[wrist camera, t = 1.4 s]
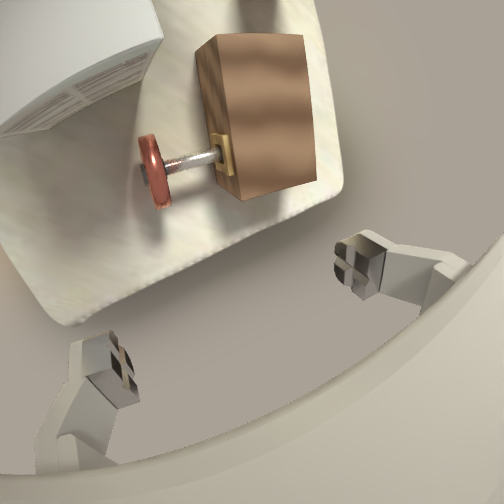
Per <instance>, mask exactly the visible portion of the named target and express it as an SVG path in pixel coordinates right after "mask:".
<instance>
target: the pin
mask: <svg viewBox="0 0 504 504" xmlns="http://www.w3.org/2000/svg"><path fill="white" fill-rule="evenodd" d="M137 140H138V146H139V151H140V155H141V160H142V164H140V168H141V172H142V176H143V179H144V183H145V186H148V187H149V190H150V193H151V197H152V200H153V203H154V206H155V209H156V211H157V210H160V209H163V208H166V207H169V206H171V196H170V191H169V186H168V182H167V175H171V174H174V173H177V172H181V171H184V170H188V169H191V168H195V167H199V166H202V165H206V164H210V163H214V162H218V161H222V160H223V154H222V148H221V146H219V147H215V148H211V149H207V150H203V151H199V152H195V153H191V154H187V155H183V156H180V157H176V158H173V159H169V160H166V161H163V159H162V158H161V154H160V151H159V148H158V145H157V142H156V139H155V136H154V135H153V134H149V135H146V136H142V137H139V138H137Z"/></svg>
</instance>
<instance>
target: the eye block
mask: <svg viewBox="0 0 504 504" xmlns="http://www.w3.org/2000/svg"><path fill="white" fill-rule="evenodd" d="M195 54H196V61H197V67H198V74H199V80H200V86H201V93H202V99H203V105H204V111H205V117H206V123H207V129H208V134H209V140H210V146H211V148H215V147H219V146H221V148H222V154H223V160H222V161H218V162H214V168H215V174H216V179H217V184H218V185H219V186H221V187H222V188H224V189H225V190H226V191H228V192H229V193H231V194H232V195H234V196H235V197H236V198H238V199H239V200H241V201H244V200H248V199H251V198H254V197H258V196H261V195H265V194H268V193H272V192H275V191H279V190H283V189H286V188H290V187H294V186H297V185H301V184H305V183H309V182H313V181H317V175H316V156H315V141H314V128H313V116H312V105H311V95H310V85H309V77H308V69H307V61H306V53H305V46H304V39H303V35H295V34H278V33H235V34H217V35H215V36H214V37H212V38H211V39H210V40H209V41H207V42H206V43H205V44H204V45H203V46H201V47H200V48H199V49H198V50H197V51H195Z"/></svg>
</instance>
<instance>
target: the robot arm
mask: <svg viewBox="0 0 504 504" xmlns="http://www.w3.org/2000/svg"><path fill="white" fill-rule="evenodd" d="M334 253H335V254H336V255H337V258H336V260H335V262H334V272H335V275H336V277H337V279H338V280H339V281H340V282H341V283H342V284H343V285H346V286H350V287H351V289H352V292H353V293H355V294H356V295H357V296H358V297H360V298H361V299H362V300H366V299H367V298H369V297H371V296H373V295H375V294H376V293H378V292H380V293H382V294H385V295H388V296H391V297H394V298H397V299H400V300H403V301H407V302H410V303H413V304H416V305H419V306H422V307H421V310H420V313H419V317H418V318H416V319H415V320H414V321H413V322H411V324H409V325H408V326H407V327H405V328H404V329H403V330H402V331H400V332H399V333H398V334H396V335H395V336H394V337H392V338H391V339H390V340H388V341H387V342H386V343H384V344H383V345H382V346H380V347H379V348H377V349H376V350H375V351H373V352H372V353H370V354H369V355H368V356H366V357H365V358H363V359H362V360H360V361H359V362H358V363H356V364H354V365H353V366H351V367H350V368H348V369H347V370H345V371H344V372H342V373H340V374H339V375H337V376H336V377H334V378H332V379H331V380H329V381H327V382H326V383H324V384H322V385H321V386H319V387H318V388H316V389H314V390H312V391H310V392H309V393H307V394H305V395H303V396H301V397H300V398H298V399H296V400H294V401H292V402H290V403H288V404H286V405H284V406H282V407H280V408H278V409H277V410H274V411H272V412H270V413H268V414H266V415H264V416H262V417H260V418H258V419H256V420H253V421H251V422H249V423H247V424H244V425H242V426H240V427H238V428H235V429H233V430H230V431H228V432H225V433H223V434H220V435H218V436H215V437H212V438H210V439H207V440H204V441H202V442H199V443H196V444H193V445H190V446H187V447H184V448H181V449H178V450H174V451H171V452H168V453H164V454H161V455H157V456H154V457H150V458H146V459H142V460H138V461H134V462H129V463H125V464H120V465H119V464H118V463H115V462H114V461H112V460H110V459H109V458H107V457H105V454H106V451H107V447H108V443H109V440H110V436H111V433H112V429H113V426H114V423H115V419H116V416H117V413H118V410H117V409H120V408H122V407H126V406H129V405H132V404H135V403H138V402H140V398H139V393H138V389H137V385H136V384H135V382H134V381H133V380H132V379H133V377H134V375H135V374H134V369H133V366H132V363H131V360H130V358H129V356H128V354H127V352H126V351H125V350H124V348H122V347H121V346H118V338H117V337H116V335H115V334H114V332H113V331H111V330H109V331H106V332H103V333H100V334H97V335H94V336H90V337H87V338H84V339H82V340H79V341H75V342H72V343H71V344H70V348H69V362H68V382H66V383H64V384H63V386H62V388H61V389H60V391H59V393H58V395H57V396H56V398H55V400H54V402H53V403H52V405H51V407H50V409H49V411H48V413H47V414H46V416H45V418H44V420H43V422H42V424H41V426H40V428H39V430H38V432H37V434H36V436H35V438H34V452H35V467H36V474H35V475H14V474H0V504H504V232H503V233H501V234H500V236H499V237H498V238H497V239H496V240H495V241H494V243H493V244H492V245H491V246H490V247H489V248H488V250H487V251H486V252H485V253H484V254H483V255H482V256H481V257H480V259H479V260H478V261H477V262H476V263H475V264H474V265H471V264H469V263H468V262H466V261H464V260H462V259H461V258H459V257H458V256H456V255H454V254H453V253H451V252H446V251H440V250H434V249H427V248H421V247H415V246H408V245H402V244H399V245H396V244H394V243H392V242H391V241H388V240H387V239H385V238H383V237H381V236H380V235H378V234H376V233H374V232H372V231H370V230H364V231H362V232H359V233H357V234H356V235H353V236H351V237H349V238H346V239H344V240H342V241H340V242H337V243H336V245H335V251H334Z"/></svg>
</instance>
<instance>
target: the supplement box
mask: <svg viewBox="0 0 504 504" xmlns="http://www.w3.org/2000/svg"><path fill="white" fill-rule="evenodd" d="M163 38H164V35H163V32H162V29H161V26H160V23H159V21H158V18H157V15H156V12H155V9H154V6H153V4H152V1H151V0H0V138H2V137H7V136H12V135H17V134H23V133H29V132H36V131H42V130H48V129H50V128H51V127H53V126H55V125H56V124H58V123H59V122H61V121H63V120H64V119H66V118H68V117H69V116H71V115H73V114H75V113H76V112H78V111H80V110H82V109H83V108H85V107H87V106H89V105H91V104H93V103H95V102H97V101H98V100H100V99H102V98H104V97H106V96H108V95H111V94H113V93H115V92H117V91H119V90H121V89H123V88H126V87H128V86H130V85H132V84H135V83H137V82H139V81H141V80H143V77H144V75H145V73H146V71H147V68H148V66H149V64H150V62H151V60H152V58H153V56H154V54H155V52H156V50H157V49H158V47H159V45H160V43H161V42H162V40H163Z"/></svg>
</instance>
